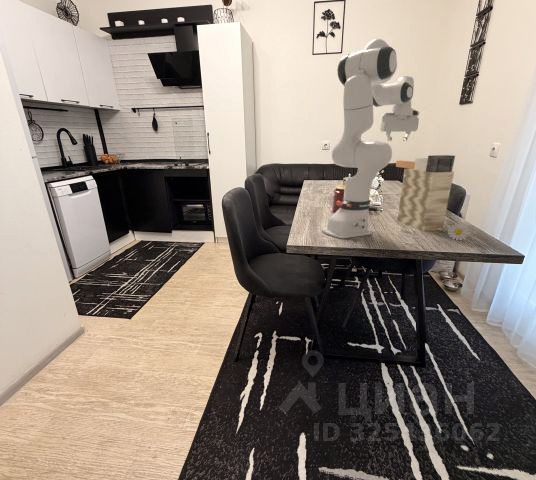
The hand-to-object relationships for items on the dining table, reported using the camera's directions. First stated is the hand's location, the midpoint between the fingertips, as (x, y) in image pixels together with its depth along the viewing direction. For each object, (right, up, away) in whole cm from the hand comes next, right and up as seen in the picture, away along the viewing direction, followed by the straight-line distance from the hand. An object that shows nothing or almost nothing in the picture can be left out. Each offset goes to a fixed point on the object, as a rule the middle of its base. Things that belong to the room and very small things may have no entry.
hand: (397, 140), depth 151 cm
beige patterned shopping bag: (+4, -46, -14) cm, 48 cm away
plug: (+2, -19, -14) cm, 23 cm away
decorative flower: (+8, -52, -30) cm, 61 cm away
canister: (-26, -37, +14) cm, 47 cm away
